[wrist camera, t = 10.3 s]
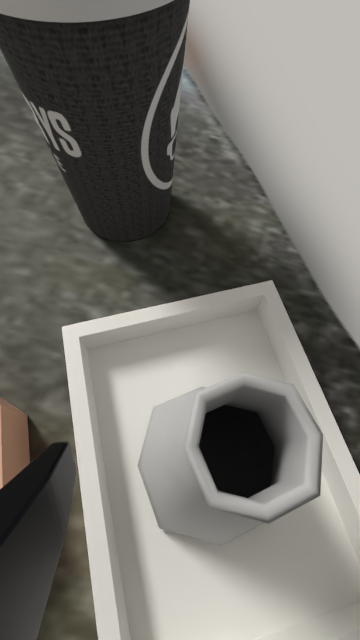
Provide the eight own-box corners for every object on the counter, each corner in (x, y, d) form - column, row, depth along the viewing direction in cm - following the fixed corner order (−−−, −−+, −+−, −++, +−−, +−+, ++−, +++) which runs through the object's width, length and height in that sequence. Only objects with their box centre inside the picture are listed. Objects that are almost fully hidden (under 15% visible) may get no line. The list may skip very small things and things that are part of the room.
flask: (297, 536, 15) (486, 632, 6) (140, 553, 15) (85, 684, 6) (266, 382, 18) (358, 290, 9) (135, 392, 18) (95, 308, 9)
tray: (390, 607, 14) (430, 633, 12) (123, 707, 13) (112, 757, 11) (261, 300, 21) (272, 280, 19) (74, 343, 19) (61, 326, 17)
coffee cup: (115, 147, 27) (57, -182, 13) (213, 195, 25) (261, -139, 11) (33, 220, 24) (-159, -125, 10) (139, 283, 21) (78, -47, 8)
